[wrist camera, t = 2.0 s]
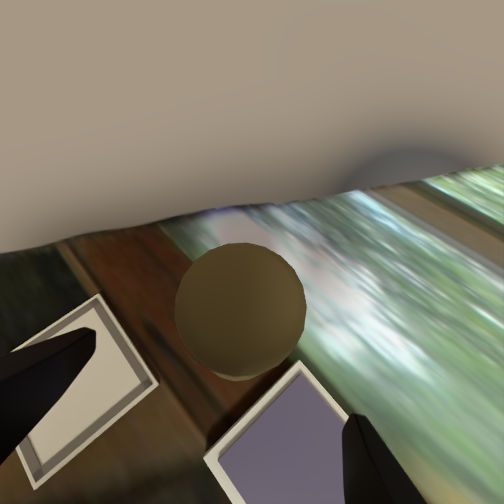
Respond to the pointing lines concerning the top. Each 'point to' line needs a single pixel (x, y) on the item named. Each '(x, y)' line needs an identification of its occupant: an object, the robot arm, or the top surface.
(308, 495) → the ink pad
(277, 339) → the brown peg figure
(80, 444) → the white flat square piece
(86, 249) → the top surface
